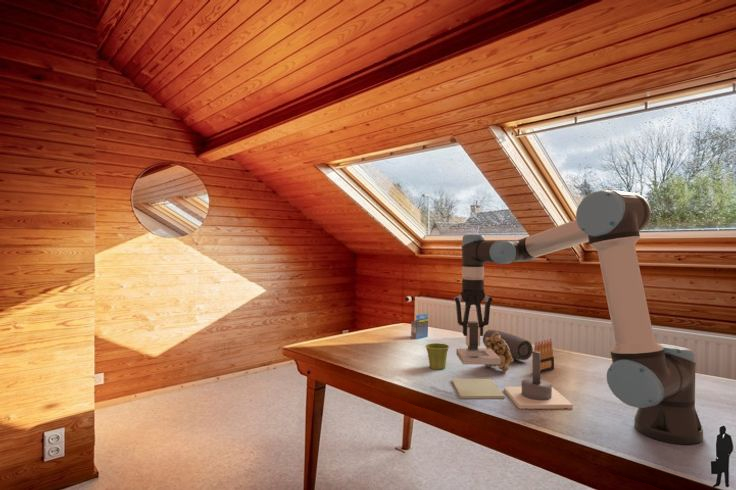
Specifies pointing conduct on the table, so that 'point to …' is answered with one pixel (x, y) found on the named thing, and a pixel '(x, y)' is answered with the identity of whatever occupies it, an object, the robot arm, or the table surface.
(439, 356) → the plant pot
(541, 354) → the ammunition clip
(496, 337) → the mineral formation
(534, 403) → the stand
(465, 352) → the pink square frame
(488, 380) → the mat
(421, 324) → the label tape box
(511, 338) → the bluetooth speaker
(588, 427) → the table surface
